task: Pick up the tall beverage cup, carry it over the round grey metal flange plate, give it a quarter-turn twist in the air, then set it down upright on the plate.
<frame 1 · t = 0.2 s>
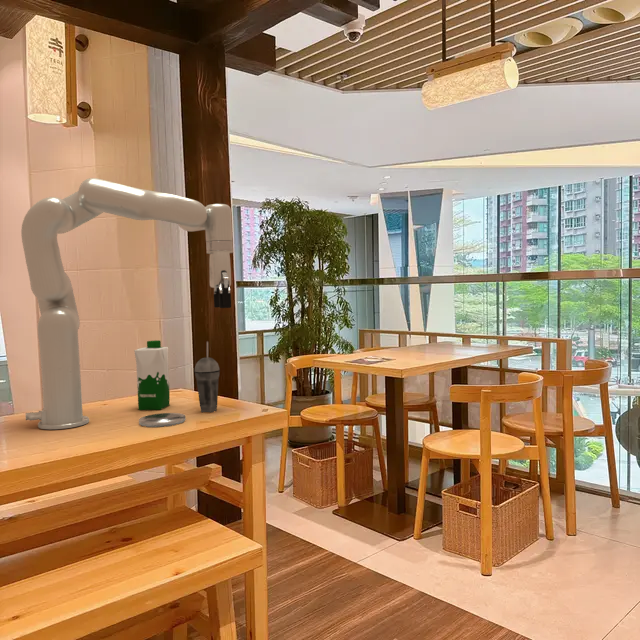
hand: (222, 307, 172), 30 cm above the table, tool pointing down, fingers open, 9 cm apart
flange plate: (162, 422, 159), on the table
milk carton: (154, 408, 179), on the table
beverage cup: (208, 411, 172), on the table
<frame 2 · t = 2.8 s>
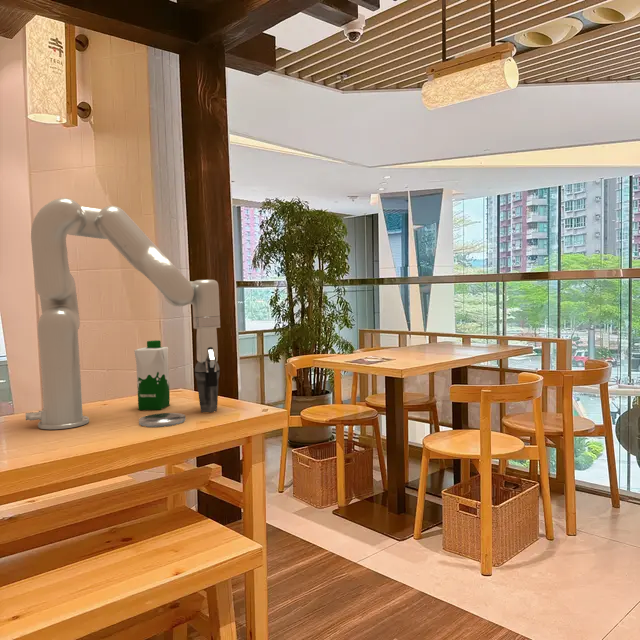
hand: (209, 383, 172), 8 cm above the table, tool pointing down, fingers closed on beverage cup, 7 cm apart
beverage cup: (208, 411, 172), on the table, touching gripper
everything else where it was.
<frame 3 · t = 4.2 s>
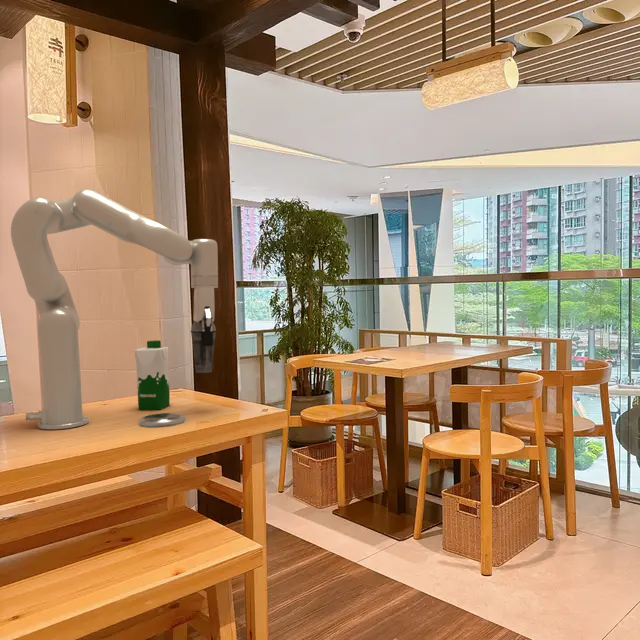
hand: (205, 344, 171), 19 cm above the table, tool pointing down, fingers closed on beverage cup, 7 cm apart
beverage cup: (203, 372, 171), point 11 cm above the table, touching gripper
everything else where it was.
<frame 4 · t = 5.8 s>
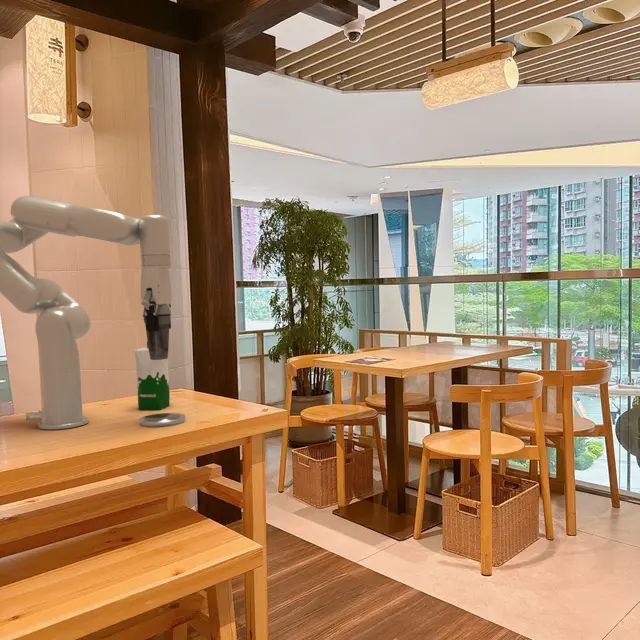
hand: (159, 329, 158), 25 cm above the table, tool pointing down, fingers closed on beverage cup, 7 cm apart
beverage cup: (159, 359, 158), point 17 cm above the table, touching gripper
everything else where it was.
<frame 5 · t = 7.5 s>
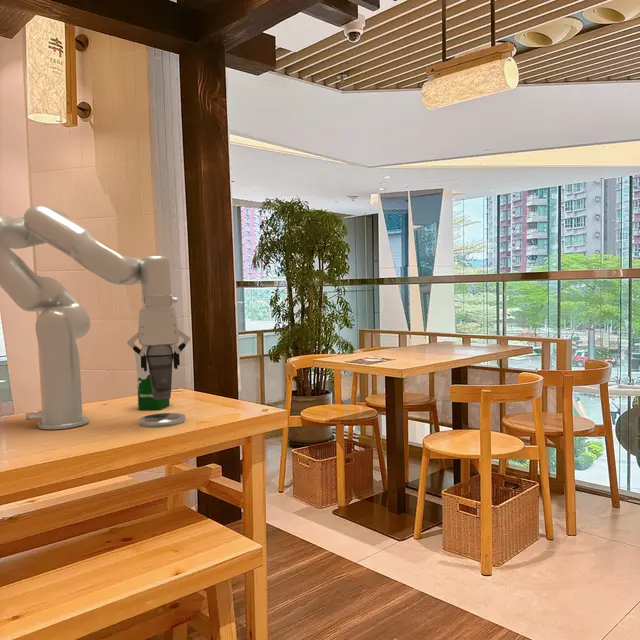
hand: (160, 369, 158), 14 cm above the table, tool pointing down, fingers closed on beverage cup, 7 cm apart
beverage cup: (162, 398, 159), point 6 cm above the table, touching gripper
everything else where it was.
when the fingers open (10 cm above the table, at t = 8.9 s): beverage cup stays where it is, resting on flange plate.
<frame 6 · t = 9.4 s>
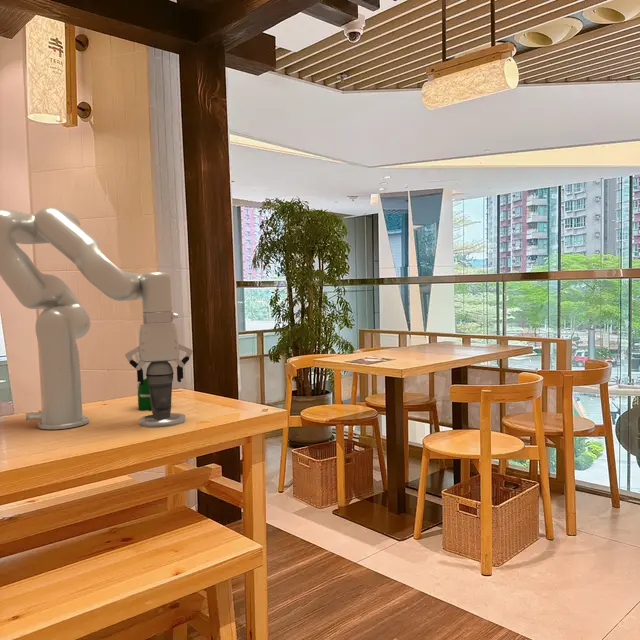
hand: (160, 383, 158), 10 cm above the table, tool pointing down, fingers open, 9 cm apart
beverage cup: (161, 417, 159), point 1 cm above the table, touching flange plate
everything else where it was.
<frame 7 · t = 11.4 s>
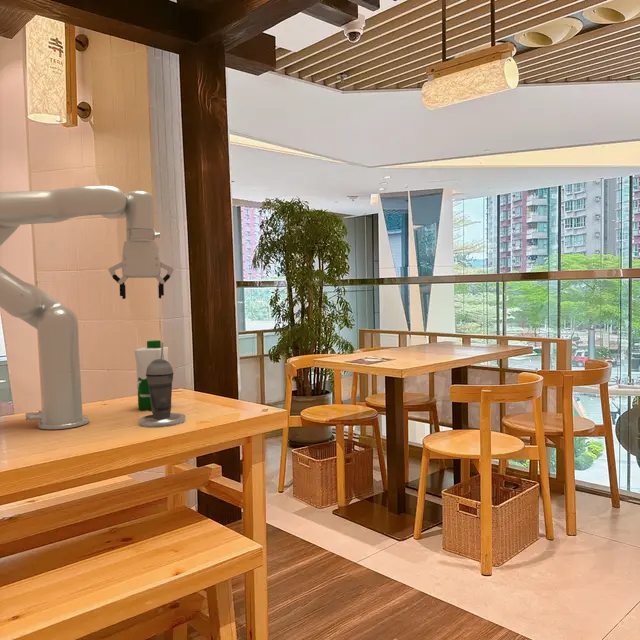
hand: (142, 298, 166), 33 cm above the table, tool pointing down, fingers open, 9 cm apart
nothing on the table moved.
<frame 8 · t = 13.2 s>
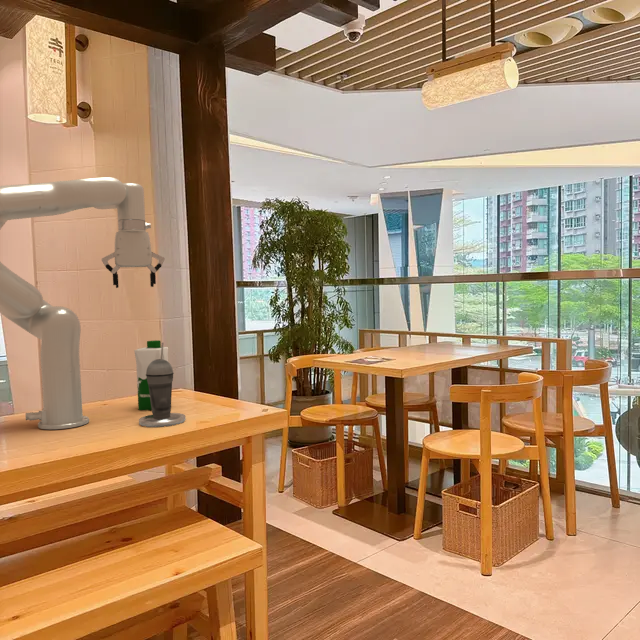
hand: (134, 287, 172), 36 cm above the table, tool pointing down, fingers open, 9 cm apart
nothing on the table moved.
at the end: beverage cup 0.5 cm from the flange plate (horizontally); beverage cup tilted 0°; beverage cup point 1.1 cm above the table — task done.
